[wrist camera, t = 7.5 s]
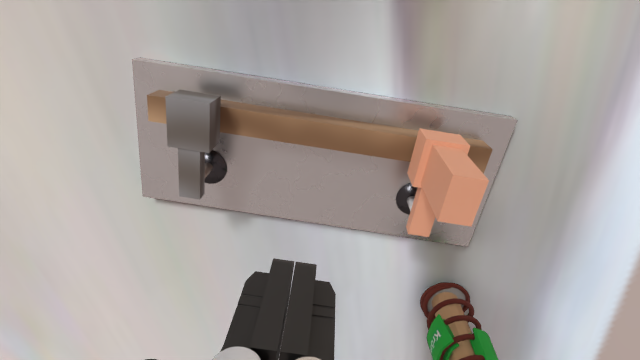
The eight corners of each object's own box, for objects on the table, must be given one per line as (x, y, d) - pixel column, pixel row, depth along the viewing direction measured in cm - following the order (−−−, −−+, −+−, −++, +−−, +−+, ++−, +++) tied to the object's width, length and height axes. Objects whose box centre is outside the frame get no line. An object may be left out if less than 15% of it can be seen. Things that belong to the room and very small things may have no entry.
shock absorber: (418, 266, 36) (464, 423, 22) (482, 274, 36) (568, 436, 22) (405, 313, 38) (439, 479, 25) (464, 321, 38) (531, 490, 25)
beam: (158, 79, 28) (128, 90, 24) (486, 131, 28) (510, 150, 24) (163, 167, 31) (136, 190, 27) (457, 213, 32) (473, 242, 28)
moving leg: (414, 121, 28) (445, 168, 19) (452, 127, 28) (500, 177, 19) (392, 205, 31) (410, 277, 23) (426, 210, 31) (457, 284, 23)
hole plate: (140, 57, 29) (131, 59, 27) (510, 116, 29) (518, 120, 28) (149, 190, 34) (142, 196, 33) (464, 239, 34) (468, 247, 33)
